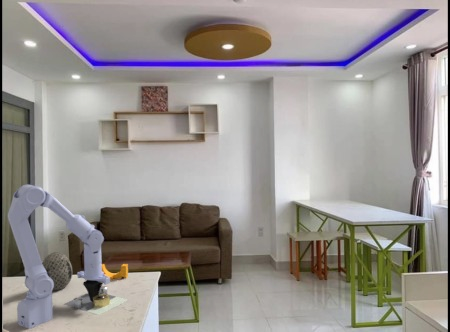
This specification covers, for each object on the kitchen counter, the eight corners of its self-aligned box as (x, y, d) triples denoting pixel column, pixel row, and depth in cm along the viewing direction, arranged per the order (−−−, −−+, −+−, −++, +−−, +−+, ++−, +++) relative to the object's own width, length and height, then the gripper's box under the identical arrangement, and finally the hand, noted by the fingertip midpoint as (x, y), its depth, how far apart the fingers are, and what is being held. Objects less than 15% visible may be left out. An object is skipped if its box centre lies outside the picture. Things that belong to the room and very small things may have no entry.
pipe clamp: (96, 282, 143) (96, 267, 143) (100, 279, 147) (100, 264, 147) (124, 282, 143) (124, 267, 143) (128, 278, 147) (127, 264, 147)
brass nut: (99, 308, 116) (99, 301, 116) (89, 306, 118) (89, 298, 118) (112, 302, 121) (112, 295, 121) (102, 299, 124) (102, 292, 123)
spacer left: (77, 310, 116) (77, 301, 115) (71, 308, 117) (71, 299, 117) (84, 306, 118) (84, 298, 118) (78, 305, 119) (78, 296, 119)
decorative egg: (64, 296, 130) (62, 257, 129) (33, 296, 130) (32, 257, 129) (78, 284, 141) (76, 248, 141) (49, 284, 142) (48, 248, 141)
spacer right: (103, 297, 125) (102, 289, 125) (97, 296, 126) (97, 288, 126) (109, 294, 128) (108, 287, 127) (103, 293, 129) (103, 285, 129)
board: (99, 318, 112) (99, 315, 112) (63, 306, 120) (63, 304, 120) (128, 302, 123) (128, 299, 123) (93, 293, 132) (93, 290, 132)
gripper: (116, 262, 121) (117, 300, 122) (88, 256, 128) (89, 292, 129) (100, 268, 115) (101, 308, 115) (71, 262, 122) (73, 299, 122)
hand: (94, 300), depth 122 cm, fingers closed
